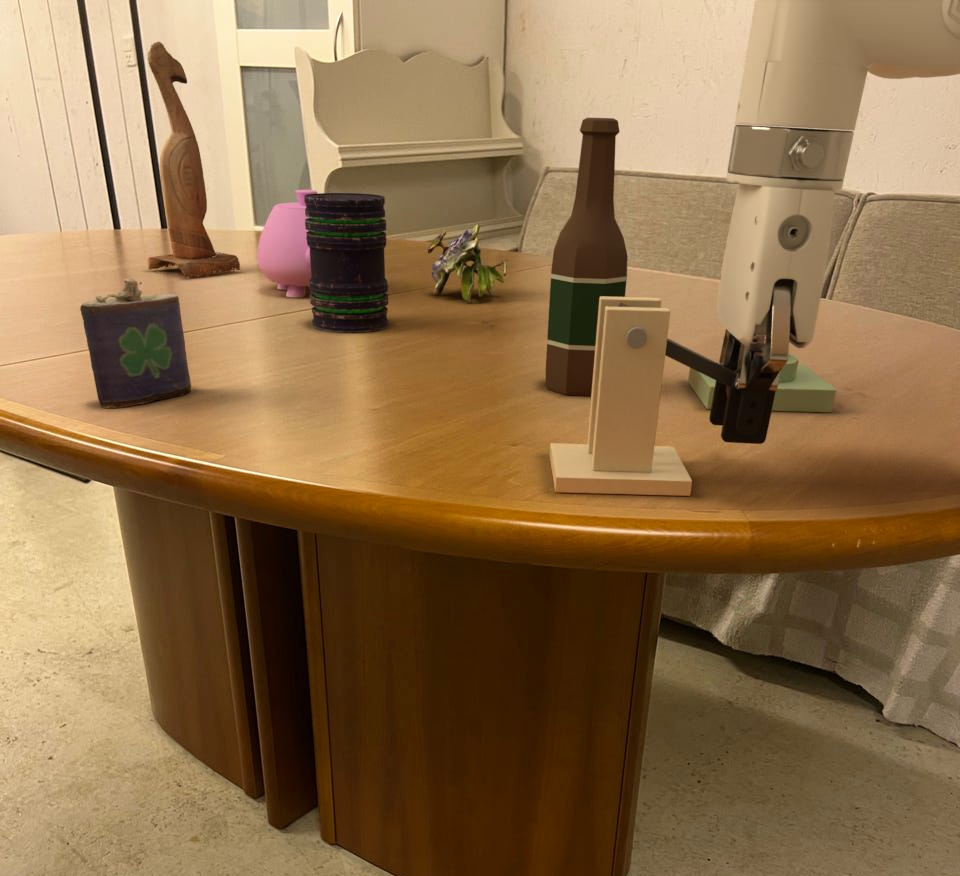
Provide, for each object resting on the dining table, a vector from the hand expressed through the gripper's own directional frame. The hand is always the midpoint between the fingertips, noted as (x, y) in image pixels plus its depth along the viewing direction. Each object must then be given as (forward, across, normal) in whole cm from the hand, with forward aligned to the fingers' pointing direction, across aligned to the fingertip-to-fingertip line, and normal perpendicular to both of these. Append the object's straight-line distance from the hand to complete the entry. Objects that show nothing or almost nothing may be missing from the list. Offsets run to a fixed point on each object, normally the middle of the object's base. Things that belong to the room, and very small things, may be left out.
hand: (736, 430), depth 70 cm
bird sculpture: (+6, +94, +68) cm, 116 cm away
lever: (-3, 0, +5) cm, 6 cm away
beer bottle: (+4, +26, +9) cm, 28 cm away
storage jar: (+5, +54, +37) cm, 66 cm away
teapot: (+5, +78, +45) cm, 90 cm away
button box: (+4, +24, -8) cm, 26 cm away
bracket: (+4, 0, +9) cm, 10 cm away
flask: (+5, +18, +51) cm, 54 cm away
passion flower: (+5, +78, +22) cm, 81 cm away
